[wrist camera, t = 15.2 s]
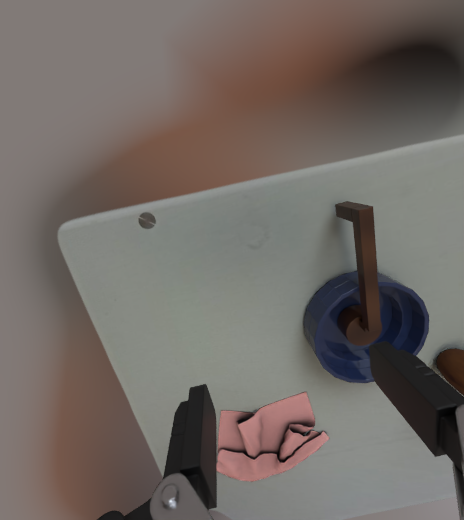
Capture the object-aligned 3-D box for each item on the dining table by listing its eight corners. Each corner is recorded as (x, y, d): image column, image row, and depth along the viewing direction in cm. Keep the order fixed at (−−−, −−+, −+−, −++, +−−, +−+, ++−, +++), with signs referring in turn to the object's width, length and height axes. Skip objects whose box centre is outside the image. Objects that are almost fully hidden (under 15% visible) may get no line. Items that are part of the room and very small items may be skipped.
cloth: (204, 474, 46) (203, 489, 44) (229, 380, 40) (229, 392, 38) (306, 484, 48) (311, 499, 46) (344, 397, 42) (351, 409, 40)
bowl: (285, 301, 37) (295, 319, 32) (382, 250, 35) (408, 260, 30) (327, 374, 41) (341, 399, 36) (415, 331, 39) (442, 351, 35)
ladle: (321, 208, 31) (342, 214, 26) (361, 197, 31) (389, 201, 26) (339, 337, 38) (358, 363, 33) (371, 329, 38) (396, 353, 33)
